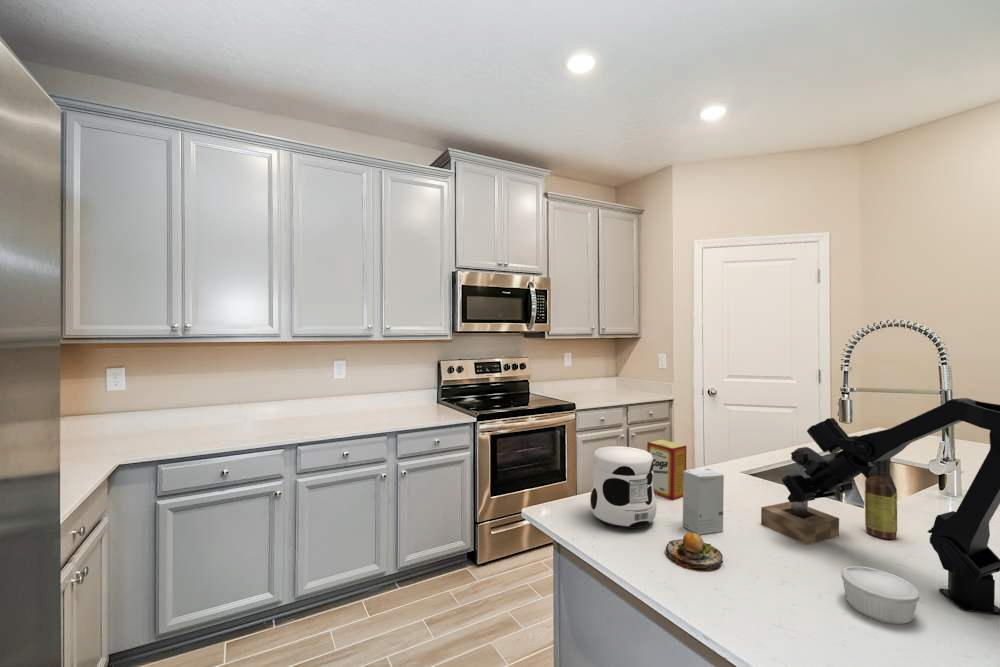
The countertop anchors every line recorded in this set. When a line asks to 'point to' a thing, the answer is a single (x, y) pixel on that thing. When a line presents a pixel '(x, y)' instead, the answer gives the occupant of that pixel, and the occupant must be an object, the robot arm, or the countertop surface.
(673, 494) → the baking soda box
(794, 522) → the wooden peg base
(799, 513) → the grey cylinder
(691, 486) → the skincare box
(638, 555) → the countertop surface
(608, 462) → the milk container
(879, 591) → the ramekin
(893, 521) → the sauce bottle
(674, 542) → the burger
